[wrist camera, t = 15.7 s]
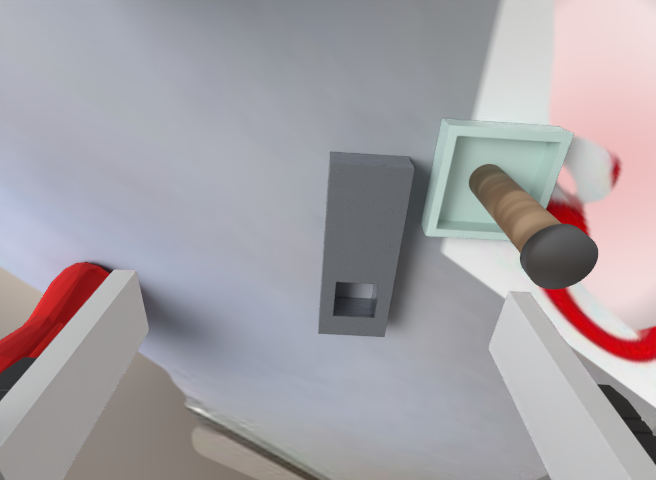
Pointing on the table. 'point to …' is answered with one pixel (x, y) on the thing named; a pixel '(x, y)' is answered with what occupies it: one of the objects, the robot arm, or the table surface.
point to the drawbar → (362, 238)
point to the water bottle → (52, 312)
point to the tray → (488, 148)
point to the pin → (534, 231)
